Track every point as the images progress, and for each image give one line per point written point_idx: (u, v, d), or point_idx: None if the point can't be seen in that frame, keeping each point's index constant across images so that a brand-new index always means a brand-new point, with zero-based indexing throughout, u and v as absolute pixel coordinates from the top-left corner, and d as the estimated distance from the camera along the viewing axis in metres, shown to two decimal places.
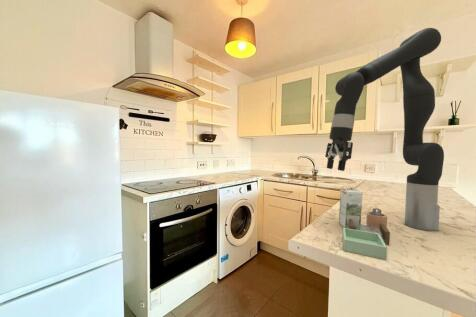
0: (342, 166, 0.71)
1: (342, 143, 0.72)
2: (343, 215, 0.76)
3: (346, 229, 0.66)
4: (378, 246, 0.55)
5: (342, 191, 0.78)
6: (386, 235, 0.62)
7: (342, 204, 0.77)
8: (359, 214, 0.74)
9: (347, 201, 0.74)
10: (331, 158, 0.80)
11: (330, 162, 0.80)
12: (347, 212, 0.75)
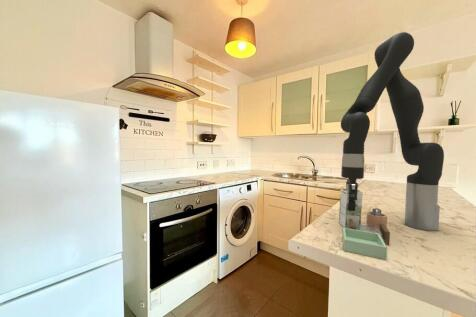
0: (351, 207, 0.73)
1: (350, 183, 0.73)
2: (343, 215, 0.76)
3: (346, 229, 0.66)
4: (378, 246, 0.55)
5: (342, 191, 0.78)
6: (386, 235, 0.62)
7: (342, 204, 0.77)
8: (359, 214, 0.74)
9: (347, 201, 0.74)
10: None
11: None
12: (347, 212, 0.75)
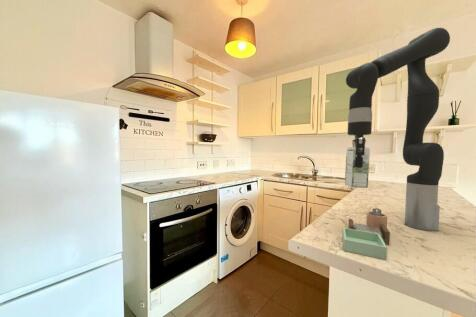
0: (358, 163, 0.69)
1: None
2: (350, 174, 0.73)
3: (346, 229, 0.66)
4: (378, 246, 0.55)
5: (348, 149, 0.74)
6: (386, 235, 0.62)
7: (349, 163, 0.74)
8: (366, 171, 0.70)
9: (354, 158, 0.71)
10: None
11: None
12: (354, 170, 0.71)
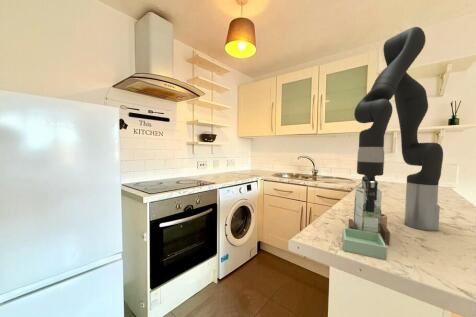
0: (369, 207, 0.64)
1: (368, 180, 0.64)
2: (359, 217, 0.67)
3: (346, 229, 0.66)
4: (378, 246, 0.55)
5: (358, 190, 0.69)
6: (386, 235, 0.62)
7: (358, 205, 0.68)
8: (378, 216, 0.65)
9: (364, 201, 0.65)
10: None
11: None
12: (364, 214, 0.65)
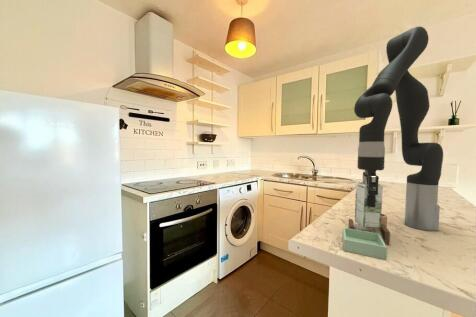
0: (370, 202, 0.63)
1: (368, 175, 0.64)
2: (361, 212, 0.67)
3: (346, 229, 0.66)
4: (378, 246, 0.55)
5: (358, 185, 0.68)
6: (386, 235, 0.62)
7: (359, 200, 0.68)
8: (379, 211, 0.65)
9: (365, 196, 0.65)
10: None
11: None
12: (365, 209, 0.65)
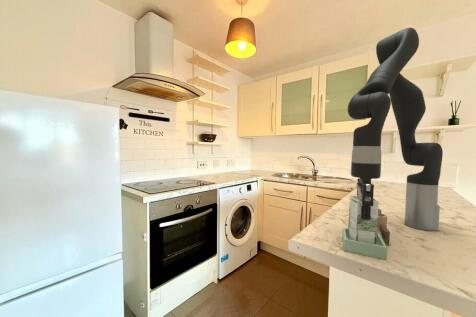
0: (365, 214, 0.56)
1: (363, 184, 0.57)
2: (353, 230, 0.60)
3: (346, 229, 0.66)
4: (378, 246, 0.55)
5: (352, 199, 0.61)
6: (386, 235, 0.62)
7: (352, 216, 0.61)
8: (374, 229, 0.57)
9: (358, 212, 0.58)
10: None
11: None
12: (358, 226, 0.58)
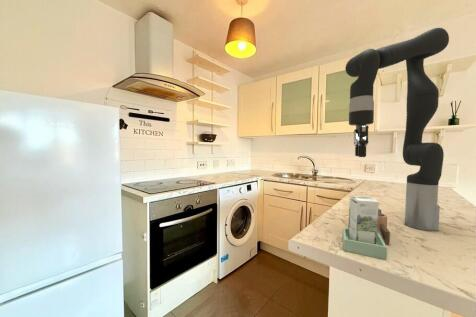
0: (361, 152, 0.66)
1: (359, 128, 0.67)
2: (353, 230, 0.60)
3: (346, 229, 0.66)
4: (378, 246, 0.55)
5: (352, 199, 0.61)
6: (386, 235, 0.62)
7: (352, 216, 0.60)
8: (374, 230, 0.57)
9: (358, 212, 0.58)
10: None
11: None
12: (358, 227, 0.58)
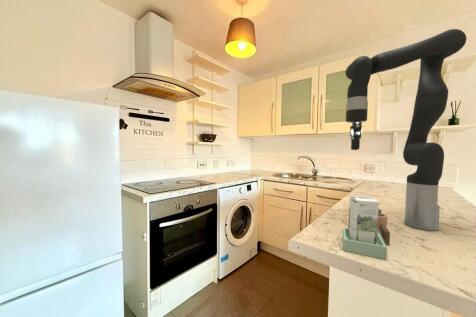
0: (355, 145, 0.76)
1: (354, 124, 0.77)
2: (353, 230, 0.60)
3: (346, 229, 0.66)
4: (378, 246, 0.55)
5: (352, 199, 0.61)
6: (386, 235, 0.62)
7: (352, 216, 0.60)
8: (374, 230, 0.57)
9: (358, 212, 0.58)
10: None
11: None
12: (358, 227, 0.58)
